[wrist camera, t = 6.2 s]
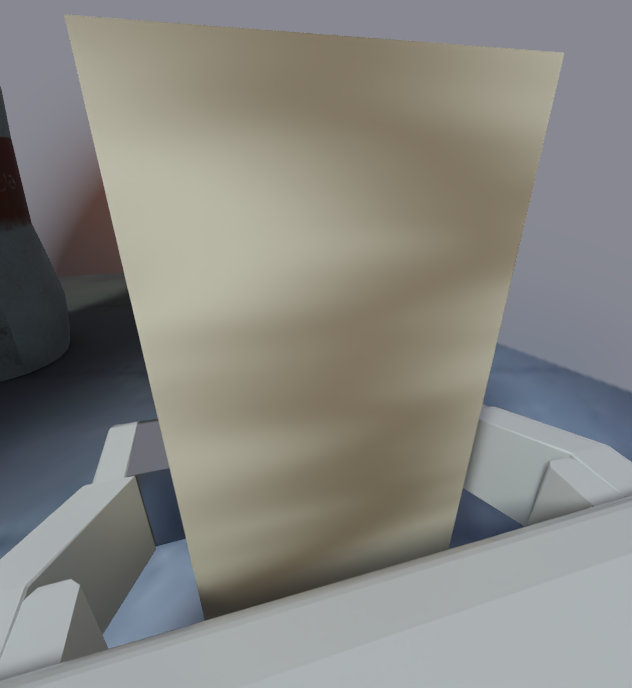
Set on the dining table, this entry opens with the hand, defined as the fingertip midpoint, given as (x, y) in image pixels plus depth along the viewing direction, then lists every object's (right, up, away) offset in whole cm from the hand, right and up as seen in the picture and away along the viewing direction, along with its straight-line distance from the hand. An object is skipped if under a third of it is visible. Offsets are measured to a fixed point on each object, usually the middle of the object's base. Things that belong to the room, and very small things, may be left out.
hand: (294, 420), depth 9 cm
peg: (0, -7, +3) cm, 8 cm away
